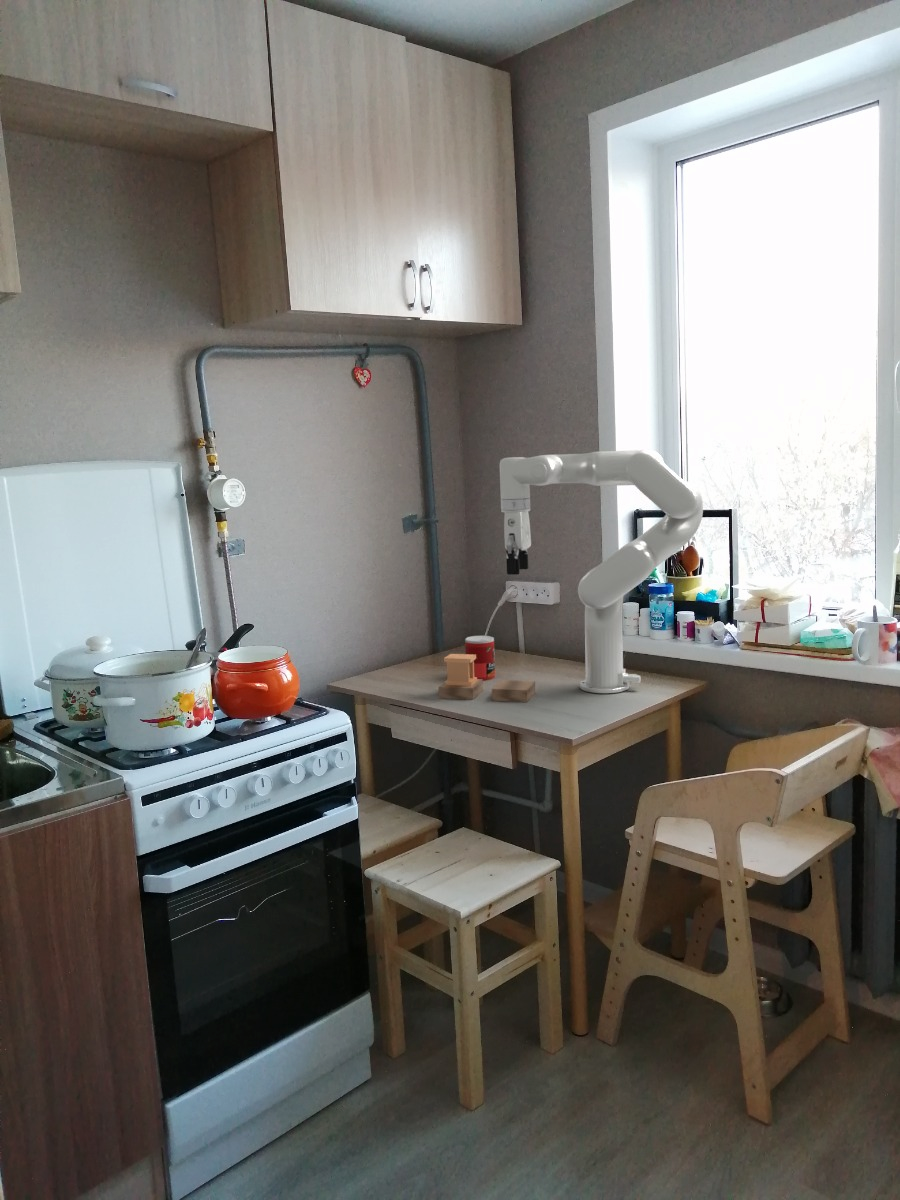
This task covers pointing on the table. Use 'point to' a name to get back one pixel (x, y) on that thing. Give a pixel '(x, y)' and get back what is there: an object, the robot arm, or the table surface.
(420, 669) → the table surface
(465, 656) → the housing
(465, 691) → the stand
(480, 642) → the canned food
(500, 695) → the stand
